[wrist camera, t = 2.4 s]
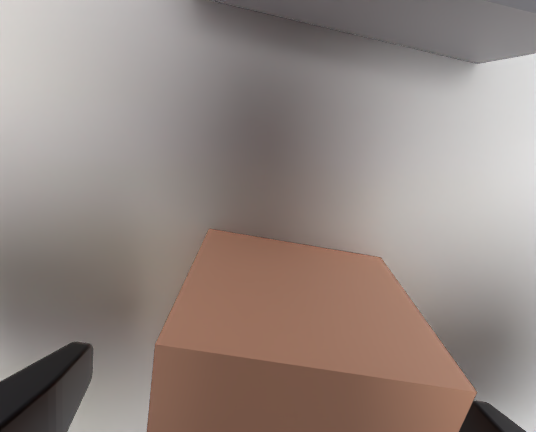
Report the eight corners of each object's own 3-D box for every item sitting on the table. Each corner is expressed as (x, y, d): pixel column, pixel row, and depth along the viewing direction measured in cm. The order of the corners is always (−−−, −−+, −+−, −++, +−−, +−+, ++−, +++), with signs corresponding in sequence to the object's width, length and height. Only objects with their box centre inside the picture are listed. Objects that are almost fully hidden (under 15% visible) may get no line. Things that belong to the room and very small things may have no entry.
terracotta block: (338, 390, 12) (386, 587, 7) (190, 368, 11) (134, 558, 7) (379, 256, 10) (477, 392, 5) (209, 227, 10) (155, 344, 5)
